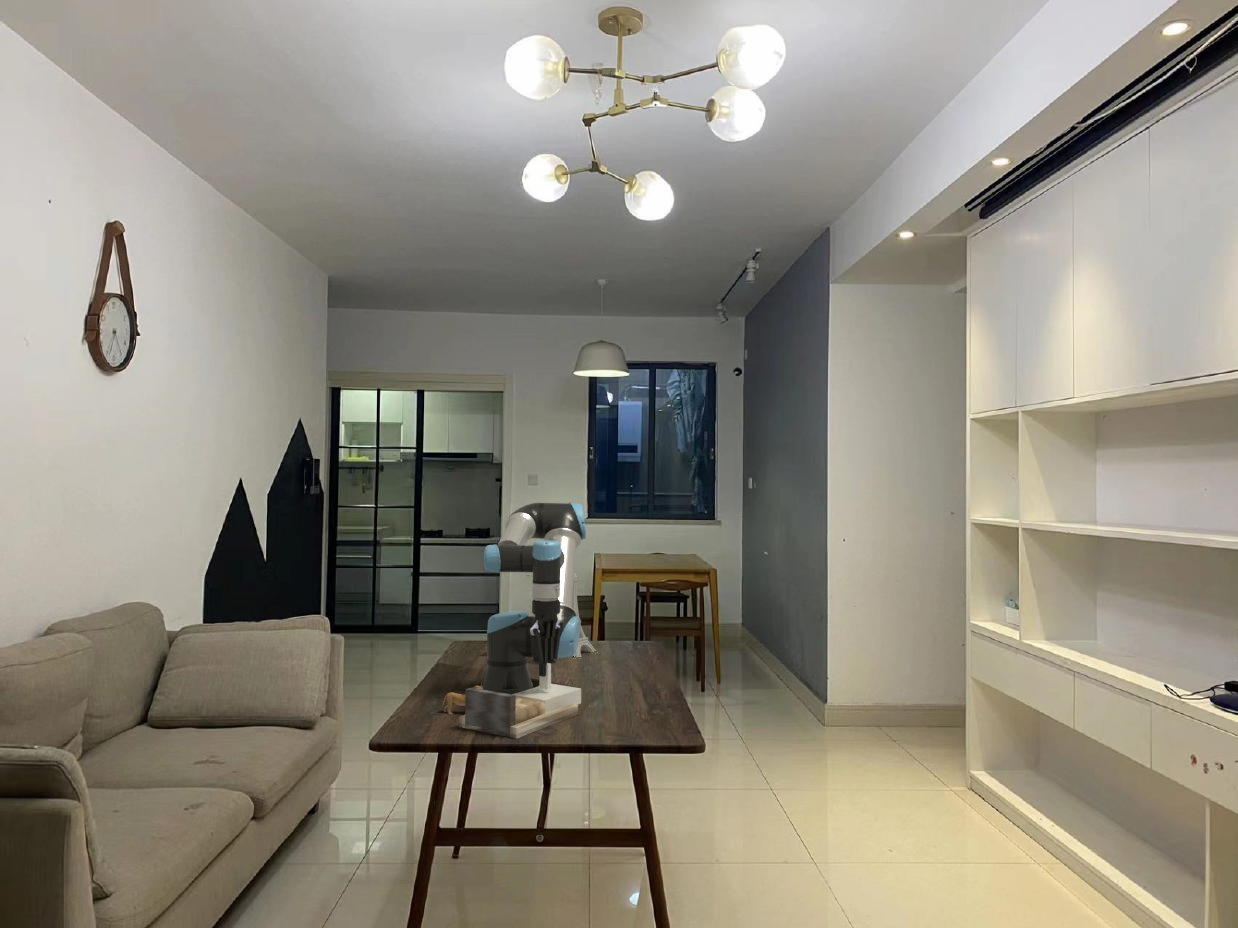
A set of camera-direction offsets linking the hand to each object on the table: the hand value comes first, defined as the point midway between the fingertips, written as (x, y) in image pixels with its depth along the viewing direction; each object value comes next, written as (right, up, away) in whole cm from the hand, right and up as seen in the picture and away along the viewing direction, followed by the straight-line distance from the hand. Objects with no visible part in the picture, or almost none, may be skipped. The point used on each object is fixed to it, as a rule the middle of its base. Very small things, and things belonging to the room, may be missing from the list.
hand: (545, 687), depth 224 cm
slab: (0, -5, +1) cm, 5 cm away
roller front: (-9, -1, -14) cm, 17 cm away
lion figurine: (-22, -6, -3) cm, 23 cm away
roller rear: (-6, -3, -9) cm, 11 cm away
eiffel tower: (+3, -9, +79) cm, 80 cm away
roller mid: (-7, -1, -11) cm, 13 cm away
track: (-6, -6, -10) cm, 13 cm away
